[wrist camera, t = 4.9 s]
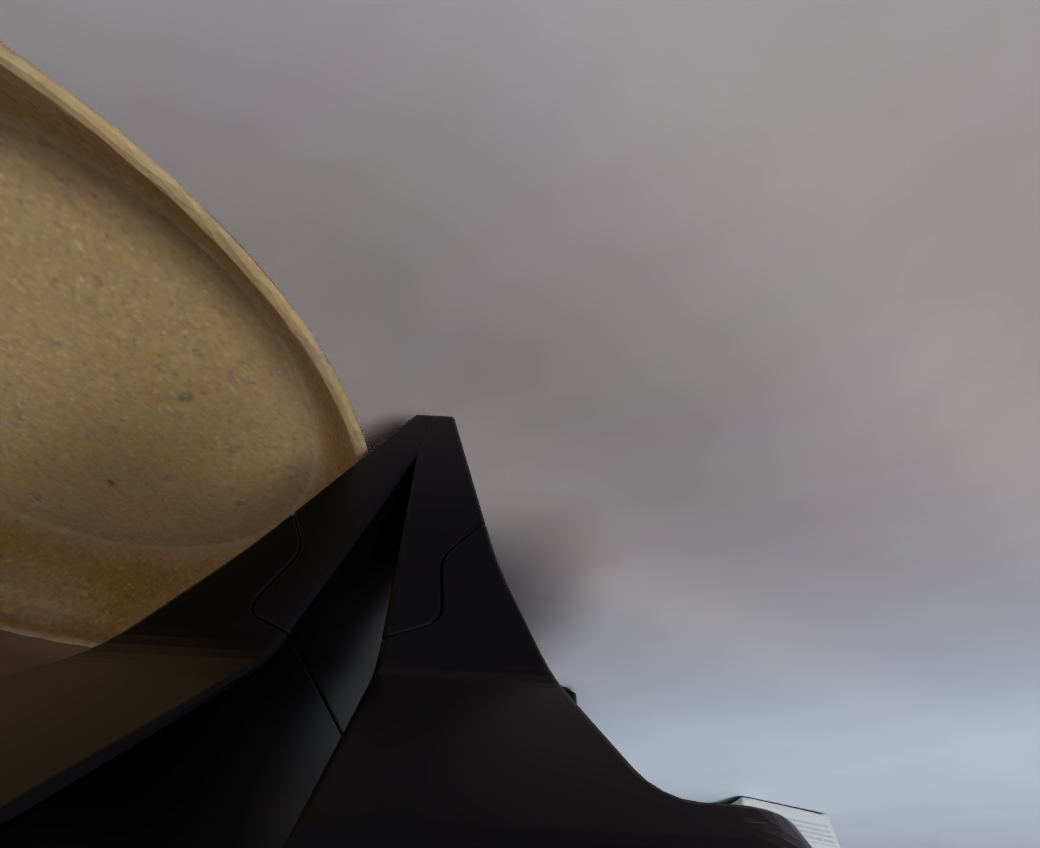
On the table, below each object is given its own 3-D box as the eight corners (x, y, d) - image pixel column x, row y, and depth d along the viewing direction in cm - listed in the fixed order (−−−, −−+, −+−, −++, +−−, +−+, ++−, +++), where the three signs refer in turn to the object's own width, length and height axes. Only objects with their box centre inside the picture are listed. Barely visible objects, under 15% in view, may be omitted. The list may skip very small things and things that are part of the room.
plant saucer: (56, -358, 5) (-328, -712, 3) (487, 536, 13) (478, 622, 11) (-654, 100, 7) (-1127, 107, 5) (87, 599, 16) (19, 678, 14)
